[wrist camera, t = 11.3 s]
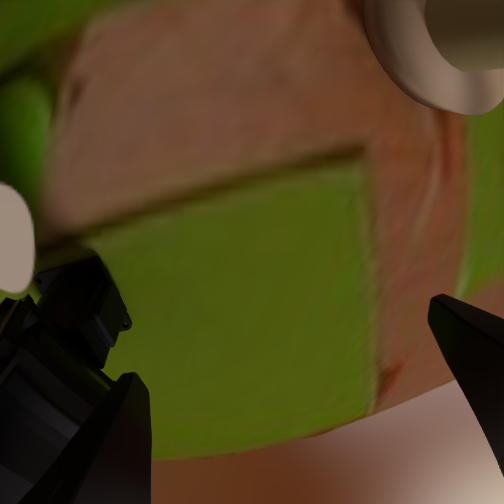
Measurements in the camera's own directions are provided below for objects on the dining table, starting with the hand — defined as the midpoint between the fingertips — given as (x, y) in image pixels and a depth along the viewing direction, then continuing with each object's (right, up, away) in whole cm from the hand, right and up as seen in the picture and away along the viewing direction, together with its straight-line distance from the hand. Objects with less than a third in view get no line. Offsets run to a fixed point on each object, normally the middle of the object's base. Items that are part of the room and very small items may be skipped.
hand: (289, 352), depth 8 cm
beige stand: (+12, +18, +7) cm, 23 cm away
